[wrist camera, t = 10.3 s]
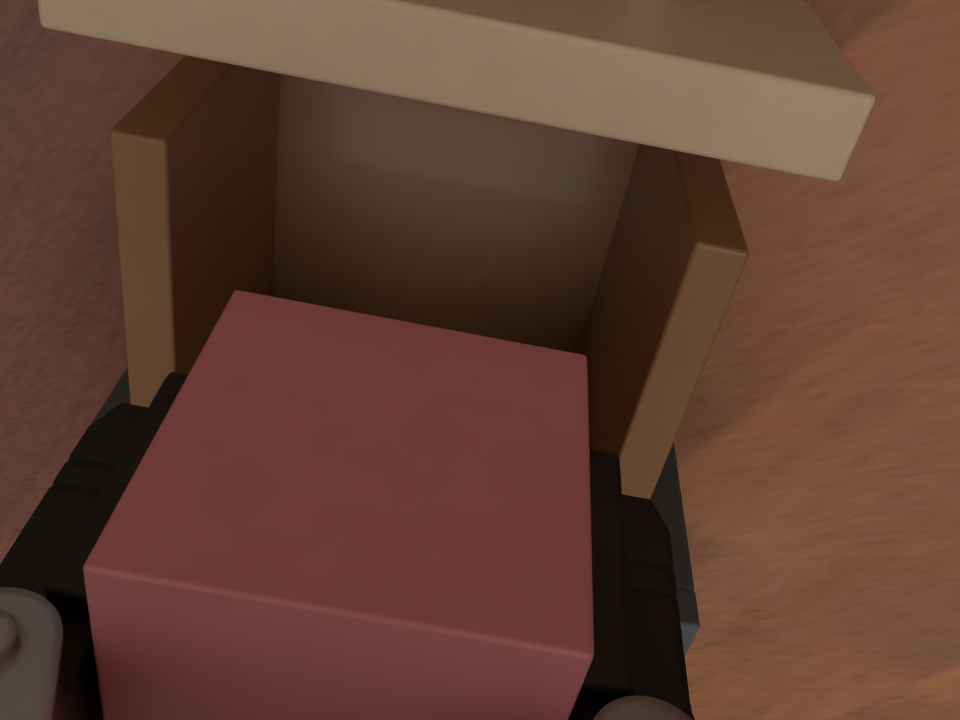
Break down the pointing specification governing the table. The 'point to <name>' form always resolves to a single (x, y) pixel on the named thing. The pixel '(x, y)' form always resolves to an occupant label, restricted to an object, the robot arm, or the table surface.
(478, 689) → the block
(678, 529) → the cabinet
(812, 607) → the table surface
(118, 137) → the drawer
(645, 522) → the robot arm
